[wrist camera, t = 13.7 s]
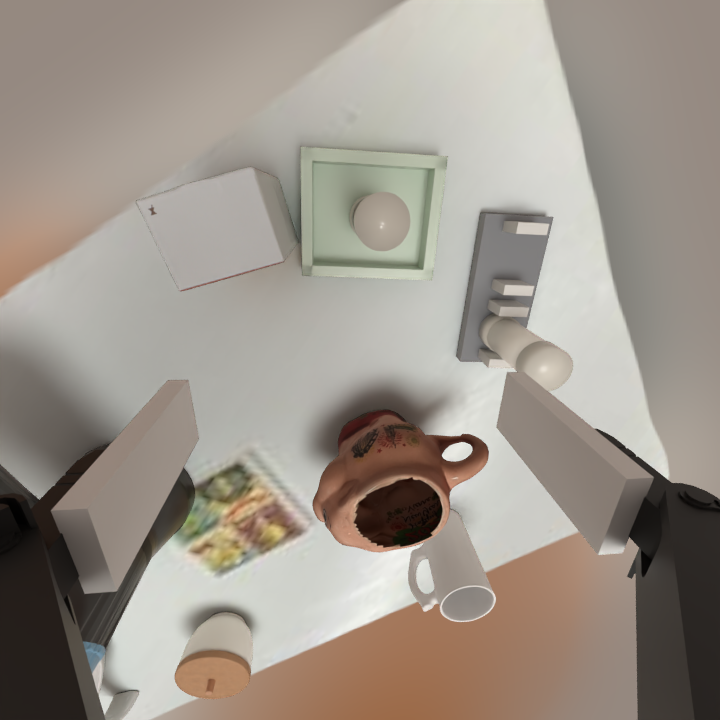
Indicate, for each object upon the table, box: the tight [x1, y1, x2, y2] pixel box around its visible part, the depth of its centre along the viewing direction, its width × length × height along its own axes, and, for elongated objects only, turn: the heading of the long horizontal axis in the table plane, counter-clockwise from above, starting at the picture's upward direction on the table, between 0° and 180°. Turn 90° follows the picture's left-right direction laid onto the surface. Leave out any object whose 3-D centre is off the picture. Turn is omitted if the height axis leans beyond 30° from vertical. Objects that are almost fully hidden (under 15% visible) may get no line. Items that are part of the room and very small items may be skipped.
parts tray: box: [300, 147, 448, 280], centre depth 35 cm, size 13×11×3 cm
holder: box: [456, 213, 573, 391], centre depth 35 cm, size 7×16×12 cm, turn 177°
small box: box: [136, 167, 298, 291], centre depth 30 cm, size 8×6×13 cm
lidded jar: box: [175, 612, 253, 699], centre depth 56 cm, size 11×11×9 cm
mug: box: [408, 509, 496, 622], centre depth 49 cm, size 10×7×12 cm, turn 115°
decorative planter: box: [313, 410, 489, 552], centre depth 41 cm, size 20×12×14 cm, turn 120°
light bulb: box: [349, 192, 410, 251], centre depth 31 cm, size 4×4×11 cm
